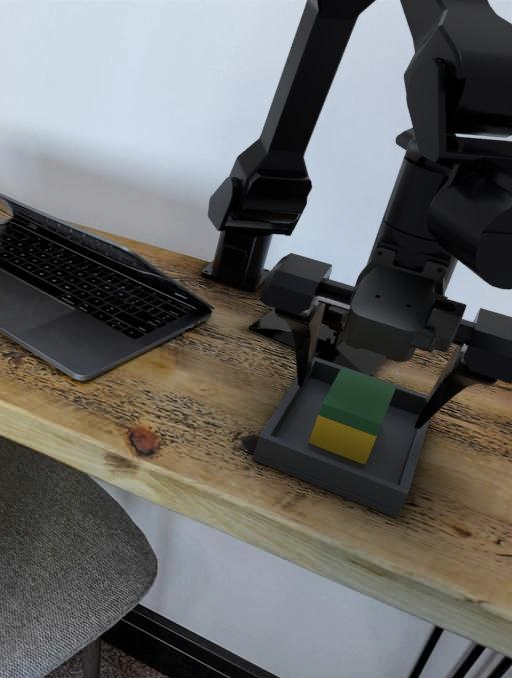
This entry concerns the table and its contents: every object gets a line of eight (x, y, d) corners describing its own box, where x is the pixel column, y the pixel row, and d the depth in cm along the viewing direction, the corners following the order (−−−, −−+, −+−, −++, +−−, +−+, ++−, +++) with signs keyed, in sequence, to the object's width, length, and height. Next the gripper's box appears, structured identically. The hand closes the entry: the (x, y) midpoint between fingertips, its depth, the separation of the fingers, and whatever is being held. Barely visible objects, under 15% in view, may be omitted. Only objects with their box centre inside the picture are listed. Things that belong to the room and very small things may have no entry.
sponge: (328, 405, 72) (341, 367, 70) (381, 425, 70) (396, 385, 68) (308, 443, 67) (322, 402, 65) (365, 465, 65) (381, 424, 63)
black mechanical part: (246, 331, 84) (257, 290, 82) (276, 310, 89) (287, 271, 87) (366, 380, 78) (381, 337, 75) (391, 354, 83) (406, 313, 80)
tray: (302, 376, 77) (310, 355, 76) (427, 420, 72) (436, 398, 71) (251, 460, 65) (259, 435, 64) (396, 519, 60) (408, 494, 59)
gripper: (265, 221, 57) (215, 406, 65) (571, 306, 49) (472, 505, 57) (305, 183, 65) (257, 351, 73) (571, 251, 57) (485, 431, 65)
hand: (357, 404), depth 67 cm, fingers open, 9 cm apart
